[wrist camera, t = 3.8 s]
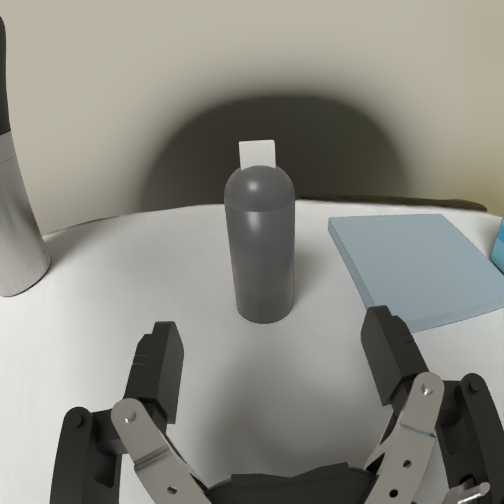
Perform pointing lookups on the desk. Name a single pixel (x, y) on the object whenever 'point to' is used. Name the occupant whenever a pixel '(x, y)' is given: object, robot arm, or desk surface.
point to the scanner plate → (417, 268)
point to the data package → (499, 248)
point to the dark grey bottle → (261, 233)
